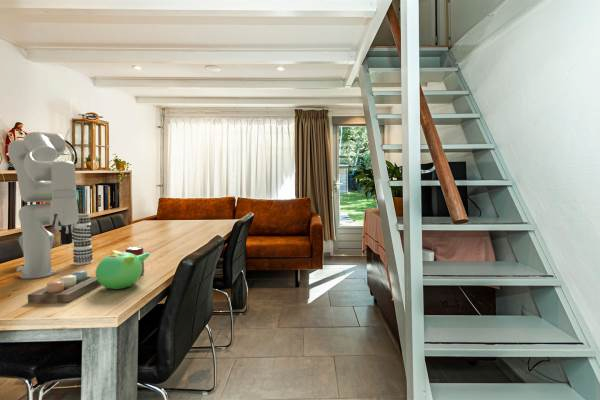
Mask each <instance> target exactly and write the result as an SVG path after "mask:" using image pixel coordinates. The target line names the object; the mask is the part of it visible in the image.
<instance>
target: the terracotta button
mask: <svg viewBox="0 0 600 400" xmlns="http://www.w3.org/2000/svg"><path fill="white" fill-rule="evenodd" d="M46 286H47V294H56V293H61V292H63V291H64V281H62V280H60V279H59V280H54V281H53V280H52V281H49V282H47V283H46Z"/></svg>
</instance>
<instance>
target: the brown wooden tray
mask: <svg viewBox="0 0 600 400" xmlns="http://www.w3.org/2000/svg"><path fill="white" fill-rule="evenodd" d="M76 284H77V285H75V286H73V287H64V291H63V292H61V293H56V294H47V285H46V286H44V287H42V288H40V289H37V290H35V291H33V292H30V293H28V294H27V304H70V303H71V302H73V301H75V300H77V299H78V298H80V297H82V296H84V295H86V294H87V293H89V292H91V291H93V290H95V289H97V288H98V287H100V286H102V285H101V284H100V283H99V282H98V280H97V278H96V275H95V276H89V275H87V280H85V281H83V282H76Z"/></svg>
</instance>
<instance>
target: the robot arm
mask: <svg viewBox="0 0 600 400" xmlns="http://www.w3.org/2000/svg"><path fill="white" fill-rule="evenodd" d="M24 135H25V136H24V137H23V139H19V140H17V139H16V140H12V141H10V142H9V144H8V145H7V152H8V157H9V160H10V163H11V164H12V166H13V168H14V170H15V172H16V175H17V183H18V189H19V196H20V198H21V199H22V201H23V202H26V203H32V204H27V205H23V206H21V207H20V209H19V211H18V218H19V223H20V227H21V235H23V250H22V252H23V251H24V252H23V265H19V266H18V267H17V268H16V271H17V272H21V274H20V275H19V277H20V279H23V280H32V279H42V278H46V277H50V276H53V275H55V274H56V269H52V258H51V257H52V255H51V251H50V236H49V233H48V232H47V231H48V230H47V229H46V228H45V229H46V230H47V231H46V230H45V229H43V228H42V226H44V227H45V226H52V227H54V228H53V229H54V230H55V231H58V234H60V244H61V245H71V244H73V241H72V240H73V239H72V237H73V236H72V234H73V228H74V227H75V226H76V225H77V224H76V223H77V222H78V221H79V214H80V213H79V206H78V200H77V184H76V183H77V182H76V180H77V179H76V178H77V176H76V164H75V163H74V162H72V161H67V160H66V161H65V160H64V161H61V160H60V161H55V160H57V159H58V158H59V157H60V156H62V155H63V154H64V153H65V152H66V149H67V142H66V139H65V138H64V136H63V135H61V134H59V133H53V132H51V133H50V132H40V131H31V132H28V133H27V134H24ZM41 202H42V203H41ZM45 202H50V203H45ZM33 203H37V204H33ZM41 277H42V278H41Z"/></svg>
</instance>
